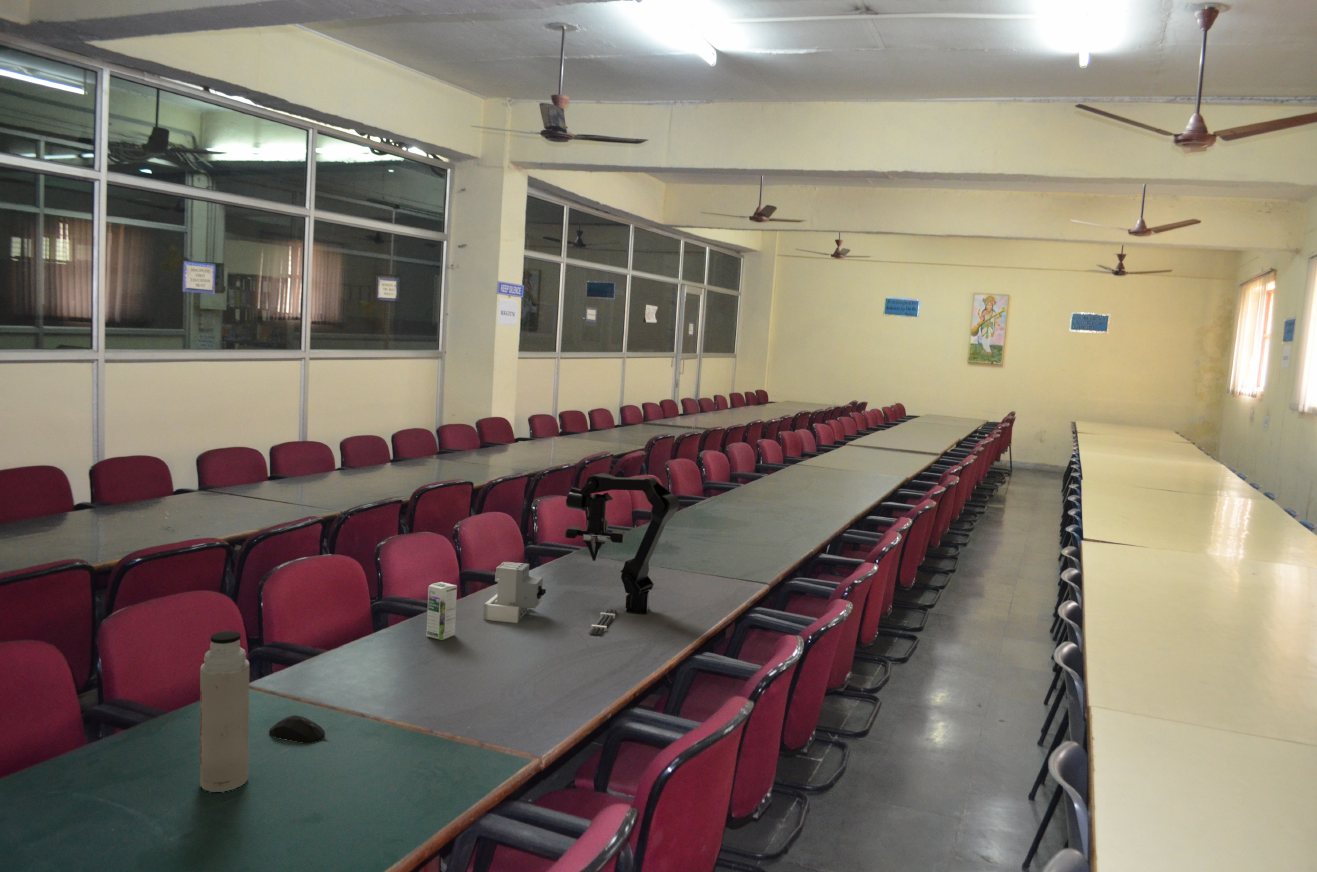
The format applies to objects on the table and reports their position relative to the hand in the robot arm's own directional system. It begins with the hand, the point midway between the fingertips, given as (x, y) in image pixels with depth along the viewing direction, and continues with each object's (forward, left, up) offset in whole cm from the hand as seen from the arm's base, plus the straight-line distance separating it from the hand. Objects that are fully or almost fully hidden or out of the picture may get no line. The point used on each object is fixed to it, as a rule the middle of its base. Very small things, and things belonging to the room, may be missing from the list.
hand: (594, 560), depth 288 cm
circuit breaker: (+17, +23, -13) cm, 31 cm away
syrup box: (+32, +47, -13) cm, 58 cm away
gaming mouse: (+35, +112, -14) cm, 118 cm away
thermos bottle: (+38, +133, -13) cm, 139 cm away
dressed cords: (-9, +22, -13) cm, 27 cm away
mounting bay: (+20, +23, -13) cm, 33 cm away
